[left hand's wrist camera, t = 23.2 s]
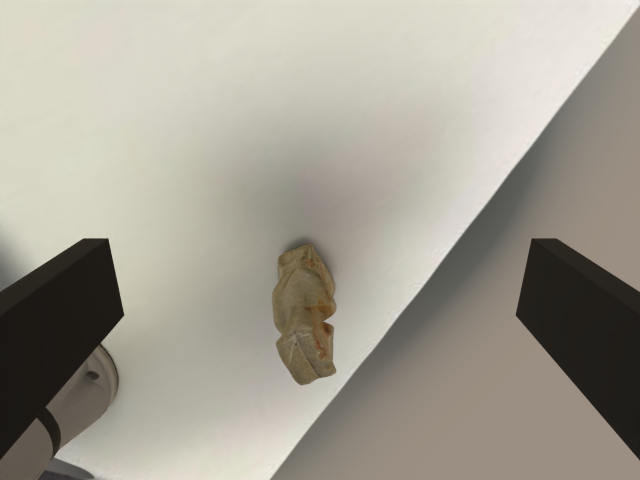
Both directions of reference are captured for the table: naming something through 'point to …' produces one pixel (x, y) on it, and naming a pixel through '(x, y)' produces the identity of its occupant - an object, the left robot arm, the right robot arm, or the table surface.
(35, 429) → the left robot arm
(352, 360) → the table surface
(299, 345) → the sculpture
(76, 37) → the table surface
